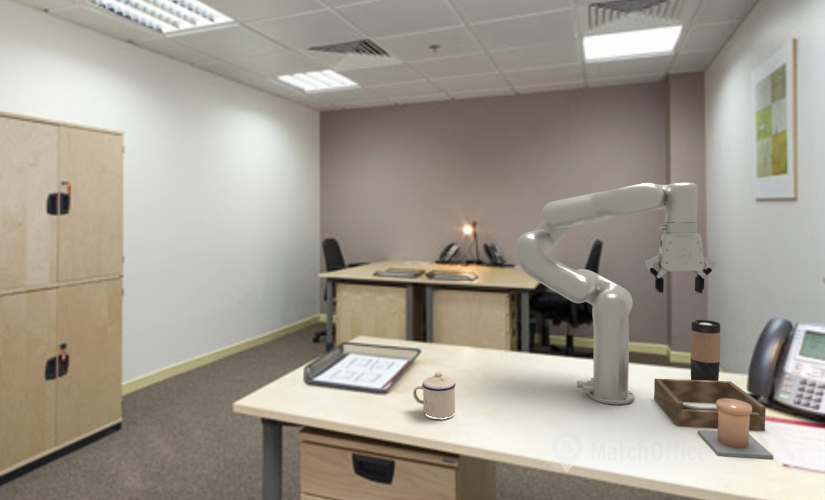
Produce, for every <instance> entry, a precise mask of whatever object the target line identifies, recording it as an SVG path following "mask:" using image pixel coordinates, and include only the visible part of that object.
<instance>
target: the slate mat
mask: <svg viewBox="0 0 825 500" xmlns="http://www.w3.org/2000/svg"><path fill="white" fill-rule="evenodd" d="M697 434H698V435H699V436H700V438H701V439H702V440H703V441H704V442H705V443H706V445H708V446H709V448H711V450H712V451H713V452H714V453H715V454H716V455H717V456H718V457H732V458H735V457H736V458H747V459H748V458H751V459H753V458H754V459H764V460H765V459H767V460H774V454H772V453H771V452H770V451H769V450H768V449H767V448H765V447H764V446H763V445H762V444H761V443H760V442H759V441H758V440H757V439H755V438H754V437H753V436H752V435H751V434H750V433H749V446H748V447H746V448H734V447H730V446H727V445H724V444H722V443H720V442H719V441H718V439H717V438H718V430H703V429H697Z"/></svg>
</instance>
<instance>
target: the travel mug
mask: <svg viewBox="0 0 825 500" xmlns="http://www.w3.org/2000/svg"><path fill="white" fill-rule="evenodd" d="M690 338H691V339H690V380H708V381H720V380H719V378H720V366H721V365H720V364H721V323H720V322H718V321H715V320H714V321H713V320H709V319H708V320H707V319H696V320H695V321H694V322H693V321H691V336H690Z"/></svg>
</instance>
